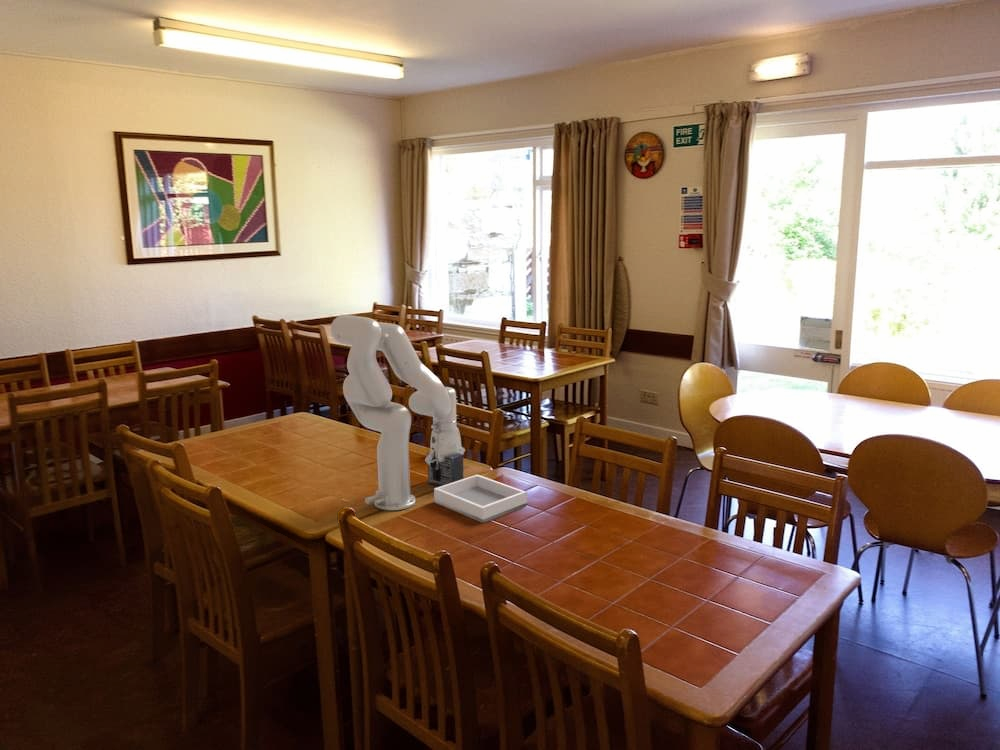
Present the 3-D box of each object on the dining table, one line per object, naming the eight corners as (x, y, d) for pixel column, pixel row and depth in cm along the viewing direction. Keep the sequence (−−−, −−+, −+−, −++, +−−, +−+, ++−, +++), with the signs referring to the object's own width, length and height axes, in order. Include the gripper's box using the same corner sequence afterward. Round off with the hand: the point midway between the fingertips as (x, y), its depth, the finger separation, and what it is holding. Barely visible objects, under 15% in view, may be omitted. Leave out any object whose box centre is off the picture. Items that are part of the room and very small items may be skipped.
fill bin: (482, 522, 204) (482, 508, 203) (434, 502, 220) (433, 488, 219) (526, 505, 216) (526, 491, 215) (477, 487, 232) (477, 474, 231)
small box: (465, 483, 235) (464, 453, 233) (453, 489, 230) (452, 458, 228) (439, 478, 241) (438, 448, 239) (427, 483, 236) (426, 453, 234)
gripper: (431, 433, 223) (432, 486, 227) (472, 422, 235) (473, 473, 238) (416, 428, 228) (418, 481, 232) (457, 418, 240) (458, 468, 244)
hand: (446, 476), depth 235 cm, fingers closed on small box, 7 cm apart
